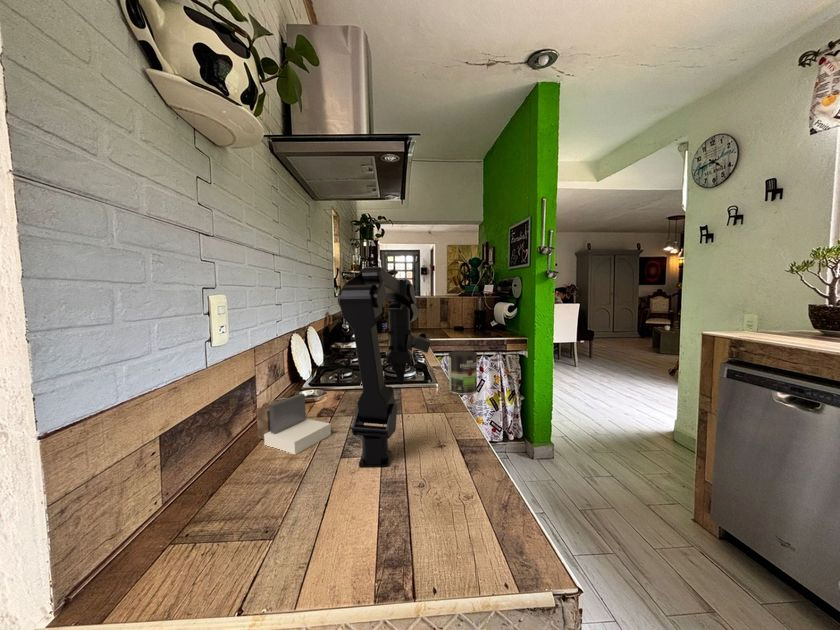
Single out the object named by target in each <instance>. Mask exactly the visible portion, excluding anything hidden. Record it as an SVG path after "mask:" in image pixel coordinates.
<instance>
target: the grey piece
mask: <svg viewBox="0 0 840 630" xmlns="http://www.w3.org/2000/svg"><path fill="white" fill-rule="evenodd" d="M305 398H306V396H305V393H299V394H298V393H297V394H296V395H293V396H290V397H288V398H285V399H284V398H283V399H281V400H282V401H280V400H278V401H279V402H277V401H275V402H276V403H274V402H272V403H273V404H271V403H270V404H271V405H269V404H268V405H269V411H270V428H271V433H274V434H276V433H278V432H280V431H282V430H284V429H286V428H289V427H291V426H293V425H295V424H297V423H300V422H302V421H304V420H306V419H307V417H306V416H307V415H306V414H307V413H306V412H307V411H306V399H305Z"/></svg>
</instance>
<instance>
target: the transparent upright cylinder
mask: <svg viewBox="0 0 840 630" xmlns="http://www.w3.org/2000/svg"><path fill="white" fill-rule="evenodd" d="M477 356H478V353H477V352H475V351H472V350H471V351H470V350H453V351H449V352H448V381H449V382H448V383H449V385H448V387H449V388H448V389H449V390H448V392H449V393H450V394H453V395H457V393H458V395H459V396H469V395H473V394H476V393H478V374H477V373H478V368H477V367H478V365H477V364H478V363H477V360H478V357H477ZM458 395H457V396H458Z"/></svg>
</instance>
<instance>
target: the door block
mask: <svg viewBox="0 0 840 630" xmlns="http://www.w3.org/2000/svg"><path fill="white" fill-rule="evenodd" d="M331 427H332V425H331V423H328V422H324V421H320V420H315V419H311V418H306V420H304V421H302V422H300V423H297V424H295V425H293V426H291V427H289V428H286V429H284V430H282V431H280V432H278V433H276V434H274V433H271V431H270V432H268V433H266V434H264V440H263V442H264V446H265V445H267V446H270V447H274V448H277V449H280V450H279V451H281V450H283V451H282V452H284V451H286V452H285V453H288V452H289V453H288V454H292V455H294V456H295V455H297V454H299V453H300V452H301V453H302V452H303V451H304V450H306V449H308V448H309V447H312V446H313V445H315V444H316V443H319V442H320V441H322V440H325V438H328V437H330V436H331V435H332V431H331V430H332V428H331ZM267 446H266V447H267ZM270 447H269V448H270ZM274 448H273V449H274ZM277 449H276V450H277Z"/></svg>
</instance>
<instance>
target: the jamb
mask: <svg viewBox="0 0 840 630" xmlns="http://www.w3.org/2000/svg"><path fill="white" fill-rule="evenodd" d="M282 400H283V399H280V400H276V401H274V402H272V403H268V404H266V405H263V406H261V407H258V408H256V421H257V438H258V437H259V438H262V439H264V434H266V433H268V432H270V431H271V428H270V411H269V405H271V404H273V403H276V402H279V401H282Z"/></svg>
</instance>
